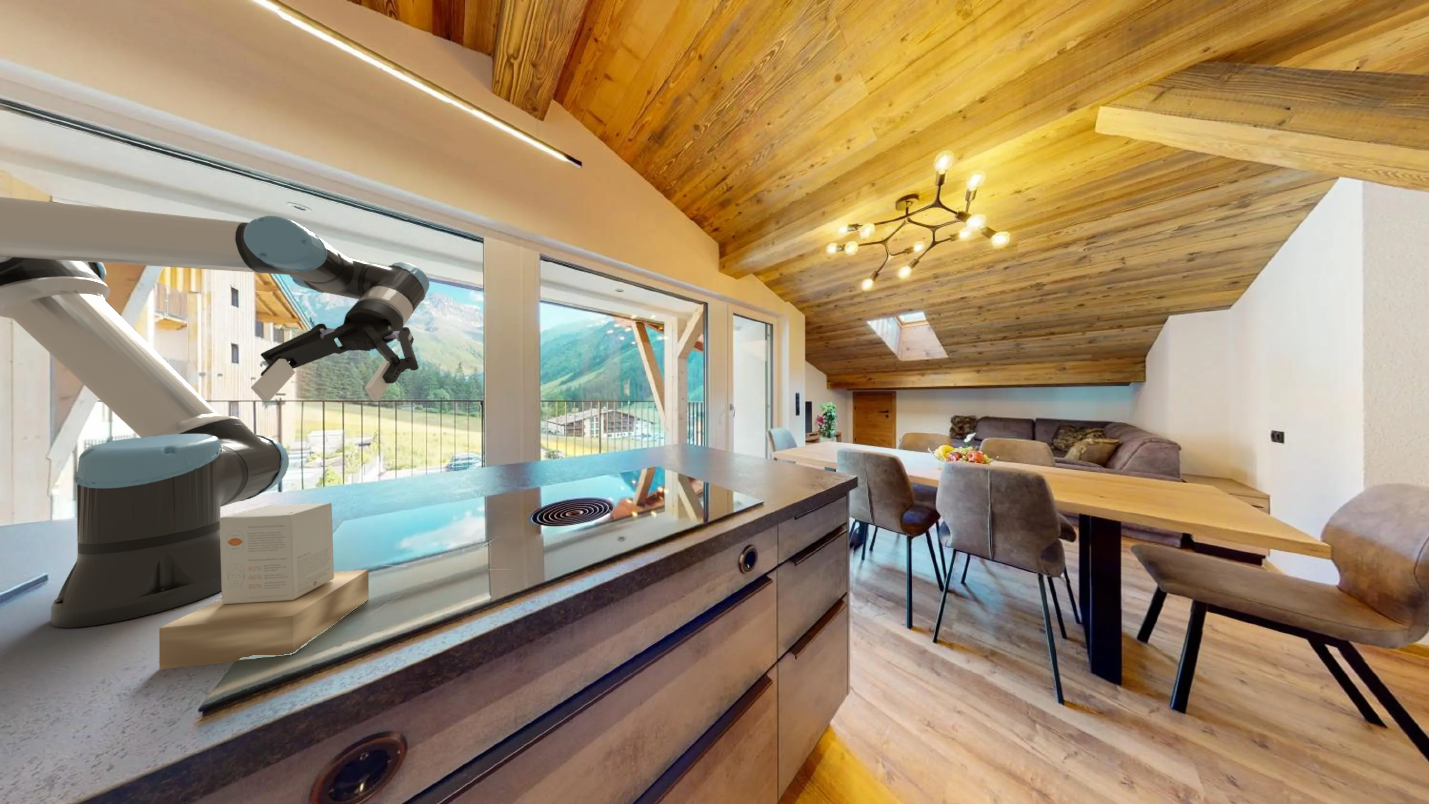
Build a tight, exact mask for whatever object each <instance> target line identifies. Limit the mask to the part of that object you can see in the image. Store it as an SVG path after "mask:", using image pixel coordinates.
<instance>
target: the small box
mask: <svg viewBox="0 0 1429 804" xmlns="http://www.w3.org/2000/svg"><path fill="white" fill-rule="evenodd" d="M332 507H333V505H332V502H320V503H303V504H302V503H298V504H296V503H295V504H275V505H274V504H272V505H265V506H261V507H258V508H253V509H249V510H246V511H241V512H237V513H233V514H228V515H226V516H220V551H221V586H222V590H221V599H222V604H234V603H251V602H267V601H283V600H294V599H296V598H298V597H300V596H302V595H304V594H306V593H307V592H309V591H311V590H313V589H315V588H317V587H319V586H321V585H323V584H325V583H327V582H329V581H331V580H332V579H334V572H335V567H334V566H335V565H334V539H333V538H334V535H333V533H334V531H333V508H332Z"/></svg>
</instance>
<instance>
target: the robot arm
mask: <svg viewBox="0 0 1429 804" xmlns="http://www.w3.org/2000/svg"><path fill="white" fill-rule="evenodd" d="M104 264H119V265H132V266H133V265H134V266H148V267H163V268H166V267H167V268H182V269H183V268H184V269H197V270H211V271H212V270H213V271H229V272H245V273H246V272H247V273H258V274H268V275H269V274H273V275H283V276H284V275H286V276H287V275H288V276H289V277H290V278H291V280H292V281H293V283H294V284H296V285H297V286H299V287H301V288H305V289H308V290H312V291H316V292H318V293H321V294H322V293H323V294H324V293H326V294H330V295H335V296H340V297H345V298H350V299H355V300H357V301H356V303H355V304H354V305H353V306H352V307H351V308H350V309H349V310H348V311H347V312H346V314H345V316H344V320H343V324H341V325H339V326H337V327H335V328H331V327H330V328H329V327H327V326H326V324H325V323H318V324H316V325H314V326H313V327H312V328H311V329H310V330H308V331H306V332H303V333H302V334H299V335H297V336H295V337H293V338H290V339H289V340H287V341H285V342H283V343H280V344H278V345H275V346H274V347H272V348H270V349H267V350H265V351H264V352H262V353H261V354H260V356H261V358H262V359H263V360H264V361H265V362H266V364H267V366H266V367H265V369H264V370H262V372H261V373H260V377H259V379H257V380H256V382H254V383H253V384H252V386H251V387H250V389H252V391H253V392H254V393H255V394H256V395H257V396H258V398H259V399H260V400H261V401H262V402H270V401H271V400H272V399H273V398H274V397H275V396H276V394H277V393H279V391H280V390H281V389H282V388H283V387H284V385H285V384H286V383H287V382H288V381H289V380H290V379H291V378H292V377H293V376H294V374H295V373H296V371H295V369H297V368H299V367H302V366H305V365H307V364H309V363H312V362H315V361H317V360H321V359H323V358H325V357H328V356H331V355H333V354H337V355H341V354H343V353H345V352H348V351H352V352H353V351H362V352H370V351H373V350H376V351H377V353H379V354H380V356H382V357H383V358H384V359H385V360H383V361H382V362H381V364H380V365H379V367H378V368H377V369H376V371H375V372H374V374H373V376H372V377H371V378H370V380H369V381H368V382H367V383H366V385H365V387H364V390H365V392H367V394H368V396H369V397H370V399H371V400H372V402H379V401H380V399H381V398H382V397H383V395H384V393H385V392H386V390H387V388H388V386H389V385H390V384H394V383H396V382H397V381H398V378H399V377H400V375H401V374H402V373H404V372H405V371H407V370H410V371H417V370H419V367H420V366H419V364H418V361H417V358H416V354H415V351H414V347H413V343H414V339H415V338H414V336H413V334H412V331H411V330H410V327H408V326H405V325H406V324H407V322H408V321H409V320H410V318H411V317H412V315H413V313H414V312H415V310H416V309H417V308H418V306H419V305H420V304H421V303H422V302H423V301H424V300H425V298H426V295H427V293H428V291H429V289H430V281H429V278H428V276H427V274H426V273H425V272H424V271H423V270H422V269H421V268H420V267H417V266H416V265H414V264H412V263H408V262H403V261H400V262H394V263H392V264H390V265H388V266H387V267H385V266H382V265H378V264H373V263H368V262H365V261H361V260H357V259H353V258H350V257H348V256H345V255H344V254H342V253H341V252H339V251H338V250H336V249H335V248H334V247H333V246H331V245H330V244H328V243H327V242H326V241H325V240H323V239H322V238H320V236H318V235H317V234H316V233H315V232H313V231H312V230H311V229H309V228H308V227H306V226H304V225H303V226H302V225H301V224H299V223H298V222H295V221H294V220H292V219H290V218H286V217H283V216H278V215H265V216H261V217H258V218H254V219H252V220H250V222H247V221H246V222H243V221H235V220H226V219H216V218H207V217H196V216H186V215H176V214H170V213H169V214H168V213H159V212H150V211H140V210H139V211H138V210H132V209H131V210H130V209H123V208H122V209H121V208H111V207H110V208H109V207H102V206H101V207H100V206H92V205H91V206H90V205H83V204H74V203H73V204H72V203H63V202H54V201H45V200H37V199H36V200H35V199H25V198H15V197H5V196H0V317H2V318H7V319H13V320H14V322H16V323H17V324H18V325H19V326H20V327H22V329H23V330H24V331H26V333H28V334H29V335H30V336H31V337H32V338H33V339H34V340H35V341H36V342H37V343H38V344H39V345H41V346H42V347H43V348H44V349H45V351H47V352H48V353H49V354H51V356H53V357H54V359H56V361H58V363H60V364H61V365H62V366H63V367H65V368H66V370H68V371H69V372H70V373H71V374H72V375H73V376H74V377H75V378H76V379H78V381H79V382H80V383H82V384H83V385H84V387H86V388H87V389H88V390H89V391H90V392H91V393H93V395H95V396H96V398H98V399H99V400H100V401H101V402H102V403H103V404H104V405H105V406H107V407H108V408H109V410H111V412H113V413H114V414H115V415H116V416H117V417H118V418H119V419H120V420H121V421H123V422H124V423H125V424H126V425H127V426H128V427H129V428H130V429H131V430H132V431H133V432H135V434H137V435H138V436H139V437H132V438H125V439H124V438H123V439H118V440H112V441H107V442H102V443H100V444H96V445H93V446H90V447H88V448H87V449H85V450H84V451H83V452H82V453H80V455H79V457H78V462H77V463H78V464H77V470H76V472H75V474H74V481H75V483H76V529H77V531H76V532H77V533H76V534H77V536H76V537H77V539H76V540H77V541H76V542H77V558H76V561H75V564H73V566H72V568H71V570H70V572H69V574H68V576H67V577H66V579H65V581H64V582H63V585H62V586H61V589H60V591H59V593H58V596H57V597H56V599H55V600H53V603H52V605H51V607H50V625H52V626H53V627H55V628H56V627H57V628H80V627H81V628H83V627H90V626H97V625H98V626H99V625H104V624H111V623H115V622H121V621H126V620H130V619H135V618H139V617H143V616H148V615H152V614H156V613H159V612H160V613H161V612H163V611H166V610H170V609H173V608H177V607H181V606H183V605H187V604H190V603H193V602H196V601H198V600H202V599H204V598H207V597H209V596H212V595H214V594H216V593H219V592H222V586H221V551H220V518H221V508H223V507H226V506H228V505H231V504H234V503H237V502H243V501H247V500H251V499H254V498H255V497H257V496H259V495H261V494H263V493H266V492H267V491H269V490H271V489H273V488H274V487H275V486H277V485H278V484H280V482H281V481H282V480H283V479H284V477H285V476H286V475H287V471H288V468H289V465H290V459H289V454H288V451H287V450H286V448H285V447H284V446H283V445H282V444H281V443H280V442H279V441H277V440H275V439H273V438H272V437H267V436H265V435H260V434H255V433H254V432H253V431H252V430H251V429H250V428H249V427H248V426H247V425H246V424H245V423H244V422H243V421H242V420H241V419H240V418H238V417H237V416H231V415H230V416H229V415H221V414H219V413H218V412H217V410H215V409H214V408H213V406H211V405H210V404H209V403H208V402H207V401H206V400H205V399H204V398H203V397H202V396H201V395H200V394H199V393H198V392H197V391H196V390H195V389H194V388H193V387H192V386H191V385H190V384H189V383H188V382H187V381H186V380H185V379H184V378H183V377H182V376H181V375H180V374H179V373H178V372H177V371H176V370H174V368H173V367H172V366H171V365H170V364H169V363H168V362H167V361H166V360H165V359H164V358H163V357H162V356H161V355H160V354H158V352H157V351H156V350H155V349H154V348H153V347H152V346H151V345H150V344H149V343H148V342H147V341H146V340H145V339H144V338H143V337H142V336H141V335H140V334H139V333H138V332H137V331H135V329H134V328H133V327H131V325H130V324H128V323H127V321H125V319H124V318H123V317H122V316H121V315H120V314H119V313H118V312H117V311H115V309H114V308H113V307H111V305H109V303H108V302H106V300H107V299H108V298H109V297H110V294H111V289H110V287H109V286H108V285H107V284H106V282H107V281H106V280H104V278H105V277H106V276H107V269H106V267H105V265H104ZM335 339H338V342H339V343H340V345H341V346H338V344H337V342H336V341H335ZM394 340H397V342H398V343H400V348H401V350H402V354H403V357H404V358H400V357H399V355H398V354H396V353H395V352H394V351H393V350H392V348H391V347H390V346H389V345H388V344H389V343H392V342H393V341H394Z"/></svg>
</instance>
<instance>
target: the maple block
mask: <svg viewBox="0 0 1429 804" xmlns="http://www.w3.org/2000/svg"><path fill="white" fill-rule="evenodd" d="M369 573H370V572H369V569H358V570H357V569H356V570H345V571H343V570H341V571H334V579H332V580H331V581H329V582H327V583H325V584H323V585H321V586H319V587H317V588H315V589H313V590H311V591H309V592H307V593H306V594H304V595H302V596H300V597H298V598H296V599H294V600H283V601H267V602H251V603H234V604H222V598H220V599H218V600H216V601H213V602H212V603H210V604H207V605H206V606H205V605H204V606H203V607H201V608H198V609H197V610H195V611H193V612H191V613H188V614H186V615H184V616H182V617H180V618H177V619H175V620H172V621H171V622H169V623H167V624H164V625H163V626H160V627H159V628H158V629H159V632H158V633H159V643H158V644H159V645H158V646H159V649H158V651H159V653H158V654H159V655H158V656H159V658H158V659H159V670H167V669H177V668H185V667H195V666H196V667H197V666H205V665H206V666H207V665H215V664H223V663H224V664H225V663H234V662H238V661H237V660H239V659H240V658H242V657H249V656H252V655H284V654H290V653H293V652H295V651H296V650H297V649H299V648H300V647H301V646H302V645H304V644H305V643H307V642H308V641H309V640H311V639H312V638H313V637H315V636H317V635H318V634H320V633H321V632H323V631H324V630H326V629H327V628H329V627H330V626H332V625H333V624H335V623H336V622H338V621H339V620H340V619H341V618H342V617H343V616H345V615H346V614H348V613H350V612H351V611H352V610H353V609H355V608H356V607H357V606H359V605H361V604H363V603H364V602H365V601H366V600H368V599H369V596H370V595H369V588H370V587H369V585H370V584H369V581H370V580H369V578H370V577H369ZM369 600H370V599H369ZM364 604H365V603H364ZM364 604H363V605H364ZM338 623H339V622H338ZM335 625H336V624H335Z"/></svg>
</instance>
